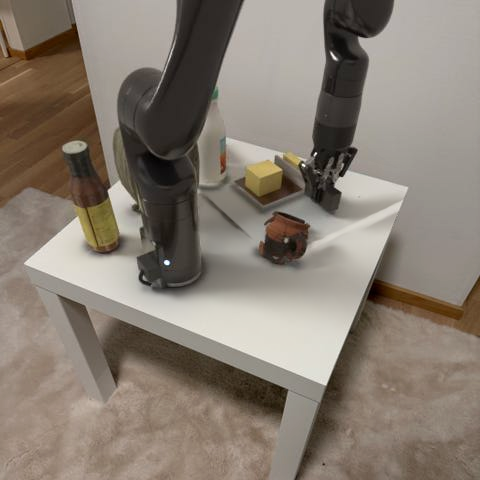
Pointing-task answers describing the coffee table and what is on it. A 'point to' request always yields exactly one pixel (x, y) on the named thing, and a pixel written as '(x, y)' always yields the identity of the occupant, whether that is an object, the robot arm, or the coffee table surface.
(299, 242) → the pottery mug
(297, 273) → the coffee table surface
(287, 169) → the knife
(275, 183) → the butter stick
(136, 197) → the tabletop clock
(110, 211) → the sauce bottle
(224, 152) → the milk bottle
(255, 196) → the butter board
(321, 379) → the coffee table surface
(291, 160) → the butter slice
